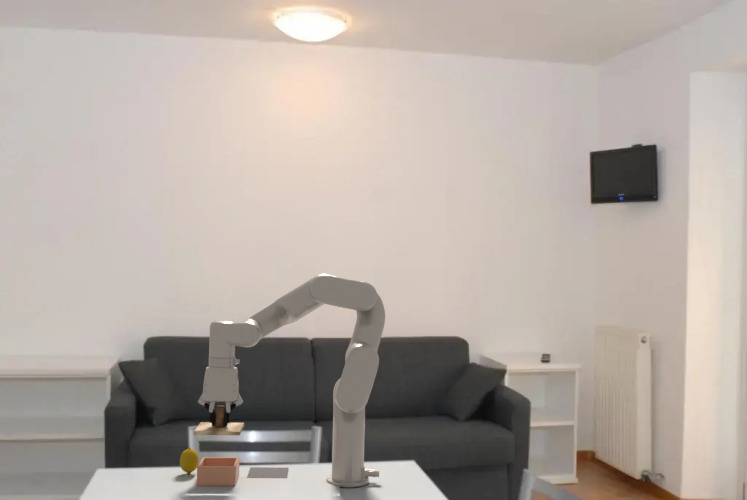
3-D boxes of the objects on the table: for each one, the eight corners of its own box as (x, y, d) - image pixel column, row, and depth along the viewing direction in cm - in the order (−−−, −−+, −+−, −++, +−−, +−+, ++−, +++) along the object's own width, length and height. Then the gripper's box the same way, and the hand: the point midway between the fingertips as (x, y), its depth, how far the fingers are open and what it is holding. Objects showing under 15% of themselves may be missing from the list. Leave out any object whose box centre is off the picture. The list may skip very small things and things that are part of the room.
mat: (288, 469, 250) (288, 467, 250) (287, 480, 238) (287, 478, 238) (250, 469, 249) (250, 467, 249) (246, 479, 237) (246, 477, 237)
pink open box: (239, 477, 240) (239, 457, 240) (235, 487, 229) (235, 466, 229) (202, 477, 239) (202, 457, 239) (196, 487, 228) (197, 466, 228)
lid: (244, 426, 241) (244, 402, 241) (239, 435, 228) (240, 410, 228) (200, 425, 240) (201, 402, 240) (193, 434, 227) (194, 410, 227)
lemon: (193, 477, 239) (194, 450, 239) (176, 475, 240) (177, 449, 240) (201, 472, 244) (201, 446, 244) (184, 471, 245) (185, 445, 245)
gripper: (250, 361, 239) (248, 423, 238) (195, 360, 238) (193, 422, 237) (248, 365, 231) (246, 428, 231) (191, 364, 230) (189, 427, 230)
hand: (219, 424), depth 234 cm, fingers closed on lid, 3 cm apart
